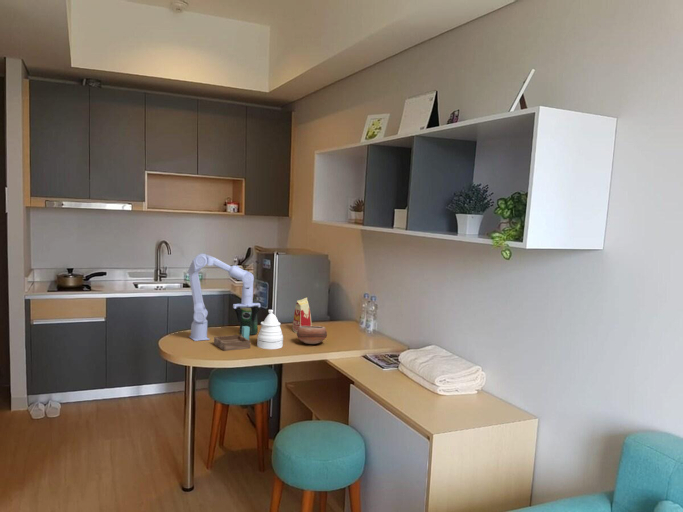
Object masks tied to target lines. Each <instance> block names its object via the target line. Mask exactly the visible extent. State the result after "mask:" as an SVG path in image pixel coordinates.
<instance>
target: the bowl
mask: <svg viewBox="0 0 683 512" xmlns="http://www.w3.org/2000/svg"><path fill="white" fill-rule="evenodd" d="M296 336H297V338H298V339H299V340H300V341H301V342H302V343H304V344H306V345H317V344H319V343H320V344H321V342H323V341H324V340H326V338H327V336H328V334H327V329H326V327H325V326H320V325H311V326H300V327H299V328H298V331H297V333H296Z"/></svg>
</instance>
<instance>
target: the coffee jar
mask: <svg viewBox="0 0 683 512" xmlns="http://www.w3.org/2000/svg"><path fill="white" fill-rule="evenodd" d="M253 303H259V301H257V300H253ZM244 307H245V306H244ZM258 308H259V309H260V307H258ZM240 309H241V310H242V313H241V322H239V323H240V325H239V332H238V333H239V335H242V326H248V327H250V332H249V336H253V335H254V336H255V335H257V334H259V332H258V331H259V330H258V313H257V314H256V317H255V320H254V321H252V319H251V318H252V310H251V307H250V308H240Z"/></svg>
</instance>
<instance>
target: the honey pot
mask: <svg viewBox="0 0 683 512" xmlns="http://www.w3.org/2000/svg"><path fill="white" fill-rule="evenodd" d="M267 311H268V314H267V316H266V317H265V319H264V321H261V322H260V326H261V327H260V328H259V330H258V331H259V332H258V333H257V334H258V335H257V343H256V346H257V348H259V349H264V350H277V349H281V348H283V346H284V345H283V344H284V335H283V331H282V329H281V322H279V320H278V317H277V316H276V314H274V313H273V312H274V310H273V309H268V310H267Z"/></svg>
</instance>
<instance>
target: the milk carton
mask: <svg viewBox="0 0 683 512" xmlns="http://www.w3.org/2000/svg"><path fill="white" fill-rule="evenodd" d="M300 326H312V315H311V308H310V305H309V301H308V297H305V298H302V299H298V300H296V303H295V308H294V313H293V319H292V331H293V332H294V333H295V334H297V331H298V328H299V327H300Z"/></svg>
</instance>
